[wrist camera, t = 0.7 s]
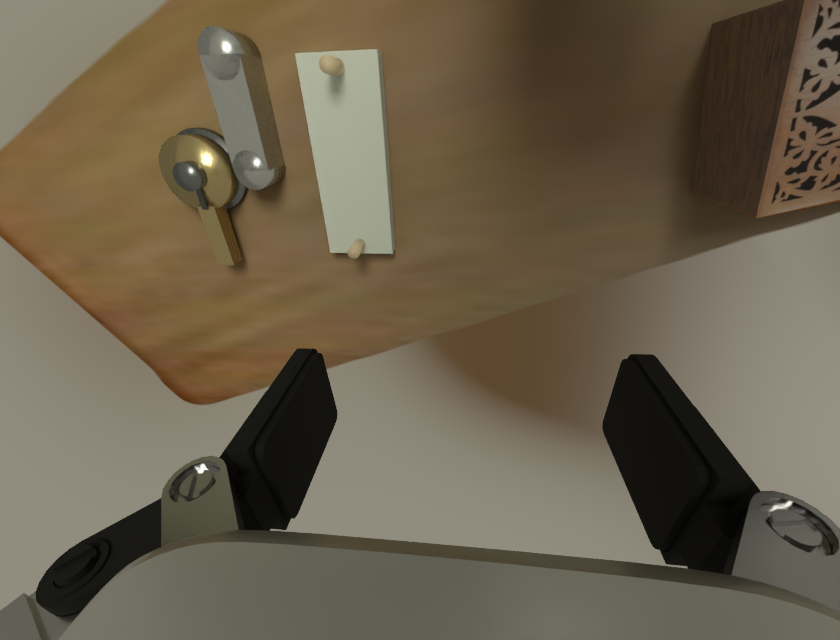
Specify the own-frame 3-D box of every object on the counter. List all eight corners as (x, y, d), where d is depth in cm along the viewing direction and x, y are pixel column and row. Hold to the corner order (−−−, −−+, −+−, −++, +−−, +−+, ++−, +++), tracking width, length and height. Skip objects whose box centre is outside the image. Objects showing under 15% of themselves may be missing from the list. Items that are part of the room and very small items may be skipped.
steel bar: (258, 182, 42) (239, 190, 38) (218, 34, 34) (191, 27, 31) (289, 182, 41) (273, 190, 38) (255, 32, 34) (232, 24, 30)
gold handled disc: (160, 134, 39) (136, 136, 36) (225, 132, 38) (206, 135, 35) (208, 258, 47) (191, 268, 44) (263, 259, 46) (249, 269, 43)
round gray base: (161, 128, 39) (156, 129, 39) (234, 126, 38) (230, 127, 38) (192, 207, 44) (187, 209, 44) (257, 208, 43) (253, 209, 43)
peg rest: (303, 55, 34) (280, 49, 30) (381, 51, 33) (369, 44, 29) (335, 247, 45) (322, 262, 41) (395, 248, 44) (387, 263, 40)
